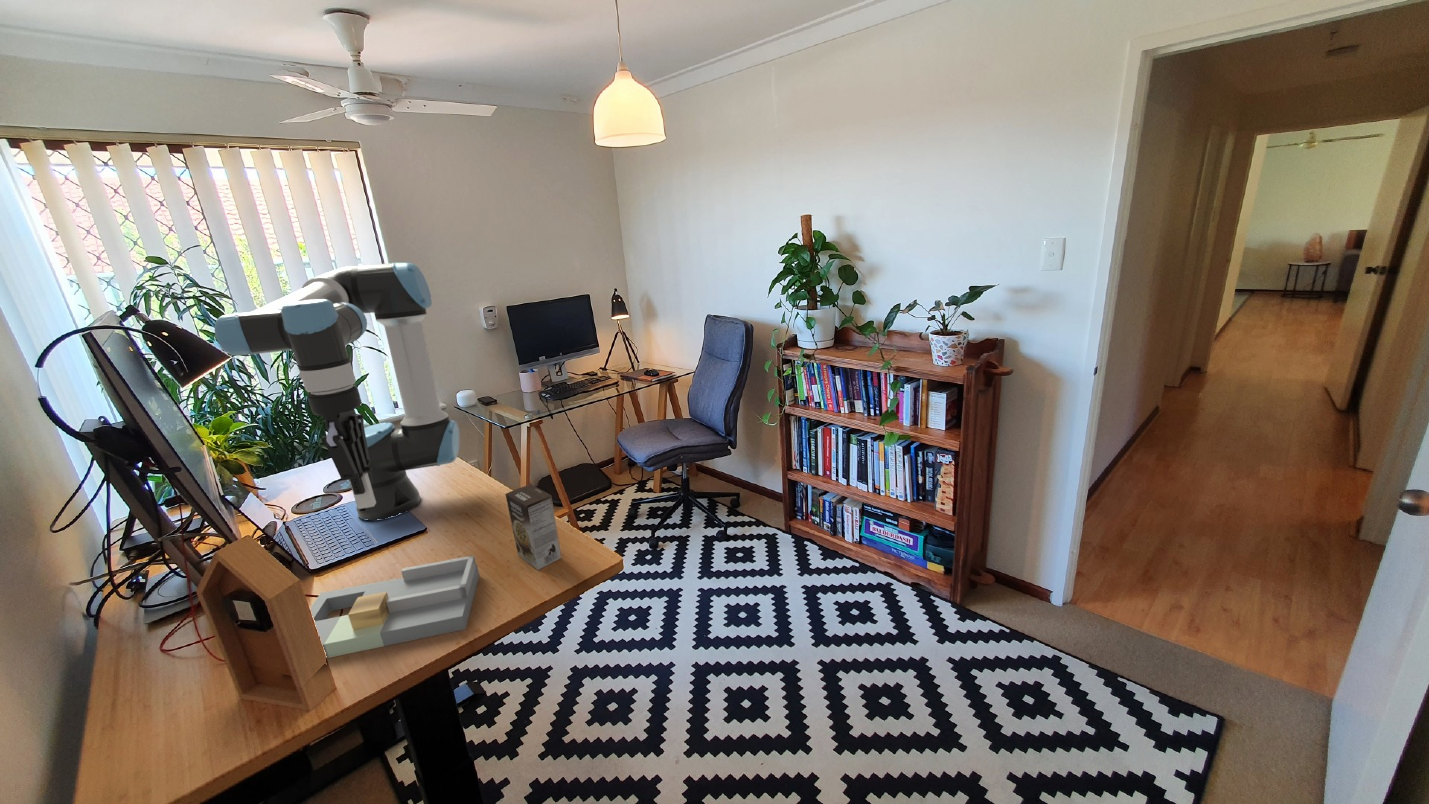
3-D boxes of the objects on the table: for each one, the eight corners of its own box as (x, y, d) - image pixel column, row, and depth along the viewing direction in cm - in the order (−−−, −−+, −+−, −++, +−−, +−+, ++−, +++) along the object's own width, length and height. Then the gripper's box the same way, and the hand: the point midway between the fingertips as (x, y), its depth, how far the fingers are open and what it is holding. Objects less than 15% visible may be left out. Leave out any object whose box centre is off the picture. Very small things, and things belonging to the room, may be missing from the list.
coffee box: (516, 556, 124) (503, 493, 119) (541, 543, 128) (530, 482, 123) (537, 571, 118) (524, 506, 113) (563, 557, 122) (551, 494, 117)
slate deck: (325, 605, 111) (317, 582, 110) (479, 575, 118) (474, 554, 116) (284, 667, 96) (274, 642, 94) (465, 629, 102) (459, 605, 100)
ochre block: (362, 612, 104) (357, 597, 103) (391, 606, 105) (386, 591, 104) (353, 630, 99) (347, 614, 98) (383, 624, 100) (378, 608, 99)
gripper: (323, 381, 101) (357, 493, 109) (290, 402, 89) (331, 527, 97) (367, 376, 103) (398, 487, 110) (341, 396, 91) (377, 519, 98)
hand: (367, 505), depth 104 cm, fingers closed
